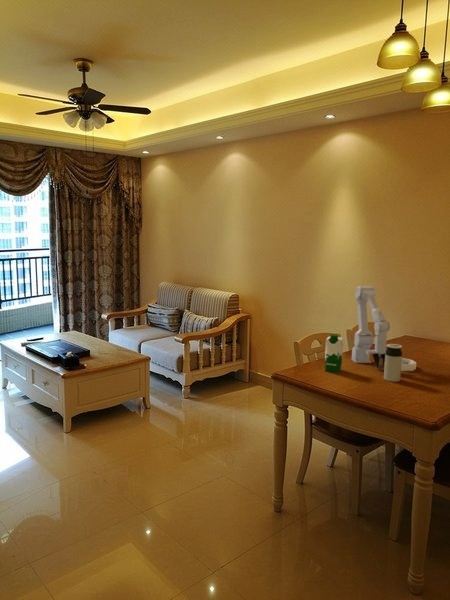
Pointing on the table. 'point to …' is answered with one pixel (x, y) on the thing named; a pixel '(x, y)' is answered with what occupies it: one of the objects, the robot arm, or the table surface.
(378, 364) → the wick
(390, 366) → the travel mug
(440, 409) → the table surface
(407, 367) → the white low round dish
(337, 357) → the milk carton
